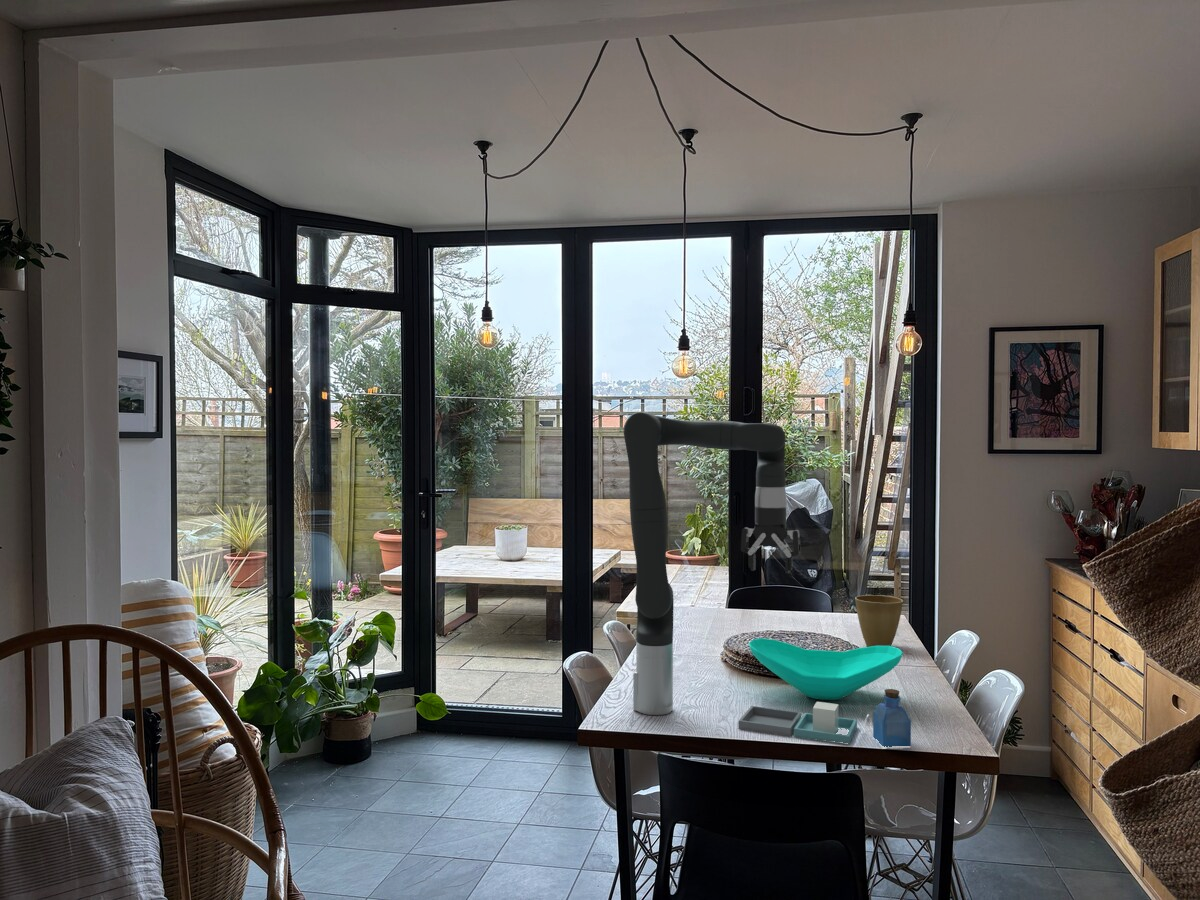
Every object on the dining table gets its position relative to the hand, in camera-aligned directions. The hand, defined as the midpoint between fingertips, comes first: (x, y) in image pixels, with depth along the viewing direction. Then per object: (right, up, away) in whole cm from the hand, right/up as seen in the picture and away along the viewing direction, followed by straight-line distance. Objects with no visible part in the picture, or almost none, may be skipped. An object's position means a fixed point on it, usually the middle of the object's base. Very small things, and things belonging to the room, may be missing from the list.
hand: (770, 571), depth 208 cm
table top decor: (+18, -36, +18) cm, 44 cm away
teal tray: (+11, -36, -11) cm, 39 cm away
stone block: (+11, -36, -11) cm, 39 cm away
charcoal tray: (-1, -36, -5) cm, 37 cm away
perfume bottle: (+24, -37, -17) cm, 47 cm away
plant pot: (+49, -35, +70) cm, 93 cm away
